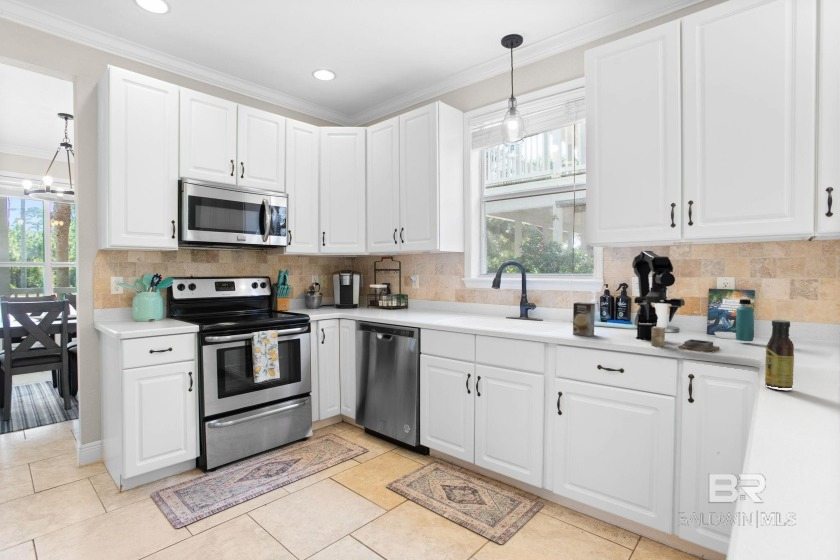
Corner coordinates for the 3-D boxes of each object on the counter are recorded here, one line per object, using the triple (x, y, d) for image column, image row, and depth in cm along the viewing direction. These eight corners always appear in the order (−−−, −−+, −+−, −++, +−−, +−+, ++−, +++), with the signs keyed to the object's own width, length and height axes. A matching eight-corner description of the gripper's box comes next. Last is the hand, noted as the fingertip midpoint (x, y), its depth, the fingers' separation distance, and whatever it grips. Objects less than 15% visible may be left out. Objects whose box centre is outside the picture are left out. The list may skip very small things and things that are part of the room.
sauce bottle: (765, 384, 130) (766, 318, 129) (792, 388, 126) (794, 320, 125) (764, 389, 125) (766, 320, 124) (793, 393, 121) (795, 322, 120)
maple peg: (651, 345, 192) (651, 327, 191) (654, 344, 194) (655, 326, 194) (661, 347, 189) (661, 328, 188) (664, 346, 191) (664, 327, 191)
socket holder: (678, 348, 186) (678, 341, 185) (687, 344, 194) (687, 338, 193) (711, 352, 177) (711, 345, 177) (719, 348, 185) (719, 341, 185)
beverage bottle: (756, 345, 193) (757, 299, 193) (739, 344, 195) (740, 299, 194) (748, 342, 200) (749, 298, 199) (732, 341, 201) (733, 298, 200)
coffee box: (572, 334, 223) (572, 303, 222) (576, 332, 228) (577, 302, 227) (590, 336, 217) (590, 304, 216) (594, 334, 222) (595, 303, 221)
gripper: (629, 285, 192) (628, 320, 193) (676, 286, 178) (675, 325, 179) (639, 284, 199) (639, 318, 200) (685, 285, 186) (684, 322, 186)
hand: (658, 320), depth 191 cm, fingers open, 9 cm apart
